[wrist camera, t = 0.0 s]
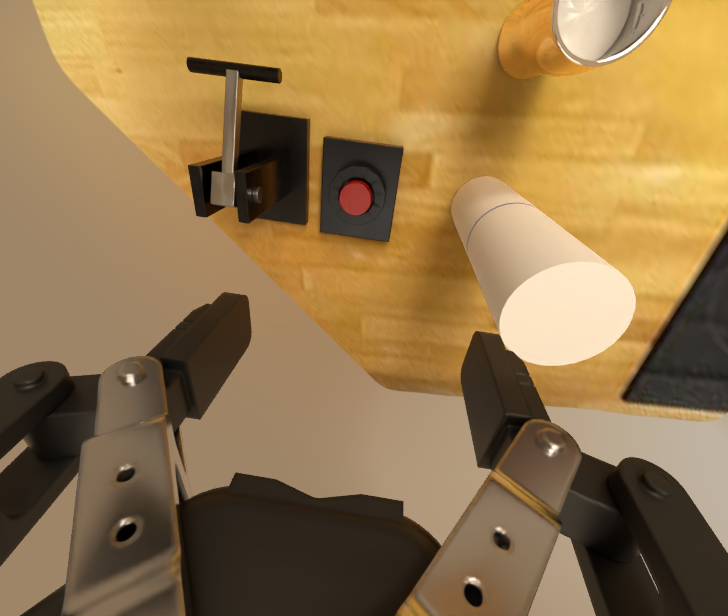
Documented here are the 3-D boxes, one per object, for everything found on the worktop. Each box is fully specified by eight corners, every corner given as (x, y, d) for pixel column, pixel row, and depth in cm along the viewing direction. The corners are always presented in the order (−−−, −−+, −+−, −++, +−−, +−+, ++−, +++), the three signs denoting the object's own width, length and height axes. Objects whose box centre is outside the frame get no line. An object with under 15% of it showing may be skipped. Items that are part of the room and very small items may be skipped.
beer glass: (570, -23, 29) (698, -123, 16) (569, 69, 32) (675, 46, 20) (488, 10, 31) (546, -58, 18) (496, 94, 34) (549, 87, 21)
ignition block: (326, 136, 38) (319, 138, 35) (403, 146, 38) (403, 149, 35) (322, 228, 44) (316, 236, 41) (389, 237, 43) (388, 247, 40)
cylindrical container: (510, 168, 38) (645, 248, 16) (513, 228, 41) (626, 357, 20) (447, 184, 39) (495, 275, 18) (454, 240, 43) (502, 372, 21)
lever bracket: (232, 108, 37) (154, 109, 26) (310, 119, 37) (265, 124, 25) (242, 212, 44) (182, 251, 32) (308, 222, 43) (272, 264, 32)
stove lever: (197, 64, 29) (181, 49, 27) (284, 75, 29) (276, 61, 27) (194, 202, 32) (179, 199, 30) (274, 213, 32) (265, 211, 29)
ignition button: (342, 177, 37) (340, 180, 36) (374, 181, 37) (373, 185, 35) (340, 209, 39) (338, 213, 38) (370, 213, 39) (369, 217, 37)
